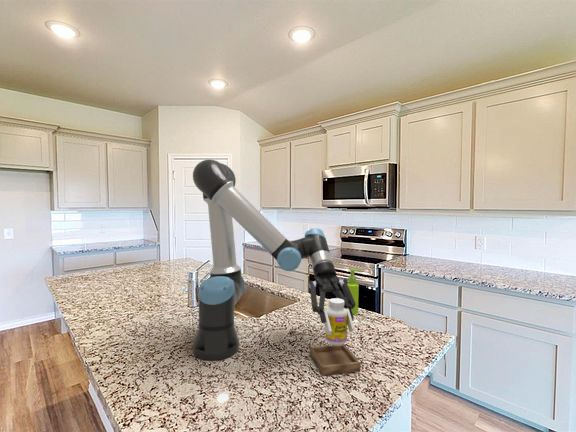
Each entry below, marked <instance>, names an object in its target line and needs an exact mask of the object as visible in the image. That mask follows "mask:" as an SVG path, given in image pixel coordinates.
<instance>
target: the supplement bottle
mask: <svg viewBox="0 0 576 432" xmlns="http://www.w3.org/2000/svg"><path fill="white" fill-rule="evenodd" d="M328 304H329V306H328V307H327V308H326V310H327V314H328V318H329V322H330V326H331V330H332V332H331V333H330V334H329V335H327V332H326V331H325V341H326V342H327V343H328V344H330V345H342V344H344V345H345V344H346V343H347V339H348V325H347V310H346V309H345V308H344V305H345V304H344V300H343V299H339V298H337V297H335V298H330V299H329V301H328Z"/></svg>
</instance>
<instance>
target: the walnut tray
mask: <svg viewBox="0 0 576 432" xmlns="http://www.w3.org/2000/svg"><path fill="white" fill-rule="evenodd" d="M309 356H310V358H311V360H312V361H313V362H314V365H315V367H316V369H317V370H318V372H319V373H320V375H321V376H322V377H323V376H331V375H339V374H340V375H341V374H347V373H356V372H361V362H360V361H359V360H358V359H357V358H356V356H355V355H354V354H353V353H352V352H351V350H349V348H348V347H347V345H345V343H344V344H342V345H333V344H330V345H321V346H312V347H311V346H310V347H309Z"/></svg>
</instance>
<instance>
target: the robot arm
mask: <svg viewBox="0 0 576 432" xmlns="http://www.w3.org/2000/svg"><path fill="white" fill-rule="evenodd" d="M192 180H193V183H194V185H195V187H196V188H197V189H198V190H199V191H200V192H201V193H202V198H203V201H204V202H205V203H206V204H207V207H208V218H209V230H210V241H211V243H210V244H211V251H212V252H211V253H212V262H213V263H212V265H213V267H212V268H211V270H209V275H210V277H209V278H206V279H204V280H203V281H201V282H200V284H199V286H198V293H197V294H198V329H197V332H196V335H195V338H194V341H193V345H192V352H193V353H192V354H193V355H194V356H195V357H196V358H198V359H201V360H205V361H219V360H225V359H227V358H229V357H232V356H234V355H235V354H236V353H237V352H238V351H239V349H240V339H239V337H238V333H237V329H236V327H235V306H236V304H237V303H238V301H239V300H240V299H241V298H242V296H243V294H244V291H245V287H246V286H245V285H246V283H245V279H244V277H243V275H242V268H241V266H239V265H238V264H237V255H236V246H235V233H234V223H233V222H234V221H233V219H234V220H235V222H237V224H239V226H240V227H242V228H243V229H244V230H245V231H246V232H247V233H248V234H249V236H251V237H252V238H253V239H254V240H255V241H257V243H259V245H260V246H261V247H263V248H264V250H266V251H267V252H268V254H270V256H272V258H273V259H274V260H275V261H276V262H277V264H278V266H279V268H280V269H281V270H283V271H285V272H293V271H295V270H297V269H298V268H299V266H300V264H301V263H302V260H304V259H308V258H309V259H310V263H311V267H312V272H313V275H314V279H315V280H314V281H312V280H309V282H308V284H307V287H308V290H309V293H310V294H309V295H310V301H311V310H312V312H313V313H317V314H318V315H319V318H320V323H321V324H323V325H324V327H325V328H324V329H325V333H326V332H327V335H329V334H330V333H331V332H332V330H331V326H330V322H329V318H328V314H327V310H325V301H326V293H328V292H329V293H332V294H333V295H335V298H339V299H343V300H344V304H345V305H344V308H345V309H346V310H347V329H348V331H349V333H353V332H354V330H355V329H356V328H355V325H354V322H353V320H354V318H355V317H354V314H353V313H352V310H351V309H353V308H354V307H355V305H356V304H355V301H354V299H353V297H352V294H351V292H350V290H349V287H348V285H347V283H348V280H347V279H346V278H344V279H340V278H339V277H338V275H337V271H336V268H335V264H334V261H333V259H332V254H331V253H330V249H329V245H328V240H327V237H326V235H325V233H324V231H323V230H322V229H321V228H318V227H314V228H310V229H309V230H307V231H306V232H304V237H302V238H299V239H294V240H291V241H290V240H289V239H287V237H285V236H284V234H283V233H281V232H280V231H279V230H278V229H277V228H276V227H275V226H274V225H273V224H272V223H271V221H269V220H268V219H267V217H265V216H264V214H262V213H261V212H260V211H259V210H258V209H257V208H256V207H255V206H254V205H253V204H252V203H251V202H250V201H249V200H248V199H247V198H246V197H245V196H244V195H243V194H242V193H241V192H239V191H238V189H237V188H235V186H236V175H235V172H234V171H233V170H232V169H231V167H229V166H228V165H227V164H224V163H221V162H220V161H217V160H215V159H204V160H201V161H200V162H198V163H197V164H196V165H195V167H194V168H193V172H192ZM316 287H318V289H320V291H319V302H318V298H317V289H316ZM340 287H341V289H340ZM341 290H342V291H341ZM345 297H346V298H345Z"/></svg>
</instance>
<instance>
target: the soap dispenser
mask: <svg viewBox="0 0 576 432" xmlns="http://www.w3.org/2000/svg"><path fill="white" fill-rule="evenodd" d="M349 272H350V275H348V282H347V285H348V287H349V290H350V292H351V294H352V297H353V299H354V301H355V304H356V305H355V307H354V308H353V309H351V310H352V313H353V315H357V314H358V313H359V294H360V293H359V290H360V289H359V287H360V285H359V283H357V276H355V272H358V273H362V270H361V269H357V268H349ZM345 298H346V297H345Z"/></svg>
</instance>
